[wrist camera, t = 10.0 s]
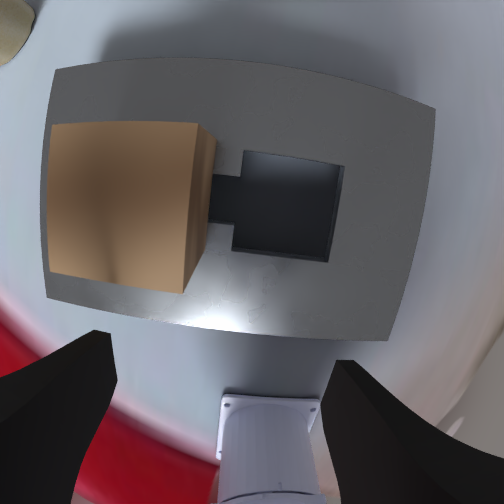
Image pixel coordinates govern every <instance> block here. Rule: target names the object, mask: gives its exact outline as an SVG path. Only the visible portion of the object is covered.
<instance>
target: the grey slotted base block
mask: <svg viewBox="0 0 504 504" xmlns="http://www.w3.org/2000/svg"><path fill="white" fill-rule="evenodd" d="M435 111H436V109H434V108H432V107H429V106H427V105H424V104H422V103H419V102H417V101H414V100H411V99H409V98H406V97H403V96H400V95H398V94H395V93H392V92H389V91H386V90H382V89H379V88H376V87H373V86H369V85H366V84H363V83H359V82H355V81H352V80H348V79H344V78H340V77H336V76H332V75H327V74H323V73H318V72H313V71H308V70H303V69H298V68H292V67H286V66H280V65H273V64H266V63H258V62H249V61H239V60H227V59H211V58H144V59H128V60H117V61H107V62H99V63H91V64H84V65H78V66H72V67H66V68H61V69H56V70H55V74H54V79H53V83H52V88H51V93H50V99H49V104H48V110H47V117H46V124H45V131H44V140H43V150H42V163H41V181H40V229H41V247H42V260H43V270H44V279H45V287H46V294H47V298H50V299H54V300H58V301H63V302H67V303H71V304H75V305H80V306H84V307H88V308H93V309H98V310H102V311H107V312H112V313H117V314H122V315H128V316H133V317H138V318H144V319H150V320H156V321H162V322H168V323H174V324H181V325H187V326H194V327H202V328H209V329H217V330H225V331H234V332H243V333H252V334H262V335H273V336H285V337H299V338H314V339H333V340H360V341H388V338H389V335H390V333H391V330H392V327H393V324H394V321H395V318H396V315H397V312H398V309H399V306H400V303H401V300H402V296H403V293H404V290H405V286H406V283H407V279H408V276H409V272H410V268H411V265H412V261H413V257H414V253H415V249H416V244H417V240H418V236H419V231H420V226H421V221H422V216H423V211H424V206H425V200H426V194H427V188H428V182H429V175H430V167H431V159H432V150H433V140H434V127H435ZM103 121H164V122H186V123H198V124H200V125H201V126H202V127H203V128H204V129H205V130H207V131H208V132H209V133H210V134H211V135H212V136H214V137H215V138H216V139H217V144H216V152H215V160H214V168H213V174H221V175H230V176H239V177H240V176H241V168H242V160H243V153H244V151H250V152H258V153H265V154H273V155H279V156H286V157H292V158H299V159H305V160H310V161H316V162H322V163H327V164H332V165H337V166H340V169H339V176H338V183H337V189H336V195H335V201H334V207H333V213H332V219H331V225H330V230H329V236H328V241H327V246H326V251H325V256H324V258H321V257H313V256H305V255H296V254H288V253H280V252H272V251H263V250H255V249H247V248H239V247H232V242H233V233H234V225H235V222H228V221H219V220H211V219H208V223H207V233H206V244H205V251H204V253H203V255H202V257H201V259H200V260H199V262H198V264H197V266H196V268H195V270H194V272H193V274H192V276H191V278H190V280H189V282H188V284H187V286H186V289H185V291H184V293H183V294H177V293H170V292H164V291H157V290H150V289H144V288H138V287H132V286H125V285H119V284H114V283H108V282H102V281H97V280H91V279H86V278H80V277H75V276H70V275H65V274H60V273H55V272H50V267H49V256H48V240H47V174H48V159H49V147H50V138H51V129H52V125H55V124H66V123H81V122H103Z"/></svg>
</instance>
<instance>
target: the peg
mask: <svg viewBox="0 0 504 504" xmlns="http://www.w3.org/2000/svg"><path fill="white" fill-rule="evenodd" d="M216 144H217V139H216V138H215V137H214V136H212V135H211V134H210V133H209V132H208V131H207V130H205V129H204V128H203V127H202V126H201V125H200V124H198V123H186V122H164V121H103V122H81V123H66V124H55V125H52V129H51V138H50V147H49V159H48V174H47V240H48V256H49V267H50V272H55V273H60V274H65V275H70V276H75V277H80V278H86V279H91V280H97V281H102V282H108V283H114V284H119V285H125V286H132V287H138V288H144V289H150V290H157V291H164V292H170V293H177V294H183V293H184V291H185V289H186V286H187V284H188V282H189V280H190V278H191V276H192V274H193V272H194V270H195V268H196V266H197V264H198V262H199V260H200V259H201V257H202V255H203V253H204V251H205V244H206V233H207V223H208V213H209V203H210V194H211V185H212V176H213V168H214V160H215V152H216Z"/></svg>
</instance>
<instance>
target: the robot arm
mask: <svg viewBox="0 0 504 504" xmlns="http://www.w3.org/2000/svg"><path fill="white" fill-rule="evenodd" d="M117 381H118V380H117V374H116V368H115V362H114V355H113V348H112V341H111V333H106V332H102V331H98V330H93V331H91V332H89V333H87V334H85V335H83V336H81V337H79V338H78V339H76V340H74V341H72V342H71V343H69V344H67V345H65V346H64V347H62V348H60V349H58V350H56V351H55V352H53V353H51V354H49V355H48V356H46V357H44V358H42V359H40V360H38V361H36V362H34V363H32V364H30V365H28V366H26V367H24V368H22V369H20V370H17V371H15V372H13V373H10V374H8V375H5V376H3V377H0V504H71V499H72V495H73V491H74V487H75V483H76V480H77V476H78V473H79V470H80V466H81V463H82V461H83V458H84V456H85V454H86V451H87V449H88V447H89V445H90V443H91V441H92V439H93V437H94V435H95V433H96V431H97V429H98V427H99V425H100V423H101V421H102V419H103V417H104V415H105V413H106V411H107V409H108V407H109V404H110V402H111V399H112V396H113V393H114V390H115V387H116V384H117ZM225 403H229V404H225ZM320 406H321V415H322V422H323V430H324V434H325V437H326V441H327V445H328V448H329V452H330V456H331V459H332V463H333V467H334V470H335V474H336V478H337V481H338V486H339V490H340V497H341V504H504V458H501V457H497V456H494V455H491V454H488V453H485V452H483V451H480V450H478V449H475V448H473V447H471V446H469V445H466V444H464V443H462V442H460V441H458V440H456V439H454V438H452V437H451V436H449V435H447V434H445V433H444V432H442V431H440V430H439V429H437V428H436V427H434V426H432V425H431V424H429V423H428V422H426V421H425V420H424V419H422V418H421V417H420V416H418V415H417V414H416V413H414V412H413V411H412V410H410V409H409V408H408V407H407V406H405V405H404V404H403V403H402V402H400V401H399V400H398V399H397V398H396V397H395V396H393V395H392V394H391V393H390V392H389V391H388V390H387V389H386V388H384V387H383V386H382V385H381V384H380V383H379V382H378V381H377V380H376V379H375V378H373V377H372V376H371V375H370V374H369V373H368V372H367V371H366V370H365V369H364V368H362V367H361V366H360V365H359V364H358V363H357V362H355V361H354V360H336V363H335V366H334V368H333V371H332V374H331V377H330V380H329V382H328V385H327V388H326V390H325V393H324V396H323V398H322V401H321V403H320V401H319V400H318V399H296V398H273V397H257V396H245V395H234V394H224V395H223V396H222V398H221V408H220V418H219V428H218V439H217V449H216V458H217V459H220V460H221V463H220V476H219V489H218V503H217V504H327V503H326V498H325V494H321V492H320V487H319V482H318V477H317V472H316V467H315V462H314V457H313V452H312V447H311V442H310V437H309V433H310V430H311V428H312V425H313V423H314V420H315V418H316V415H317V413H318V410H319V408H320ZM311 408H313V409H311Z"/></svg>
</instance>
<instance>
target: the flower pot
mask: <svg viewBox="0 0 504 504" xmlns="http://www.w3.org/2000/svg"><path fill="white" fill-rule="evenodd" d="M34 18H35V14H34V10H33V8H32V7H31V6H29V5H28V4H27V3H26V2H25V1H24V0H0V66H1V65H3V64H6V63H8V62H9V61H10V60H11V59H12V58H13V57H14V56H15V55H16V54H17V53H18V51H19V50H20V49H21V47H22V46H23V44H24V43H25V41H26V40H27V38H28V36H29V34H30V32H31V25H32V22H33V20H34Z"/></svg>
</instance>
